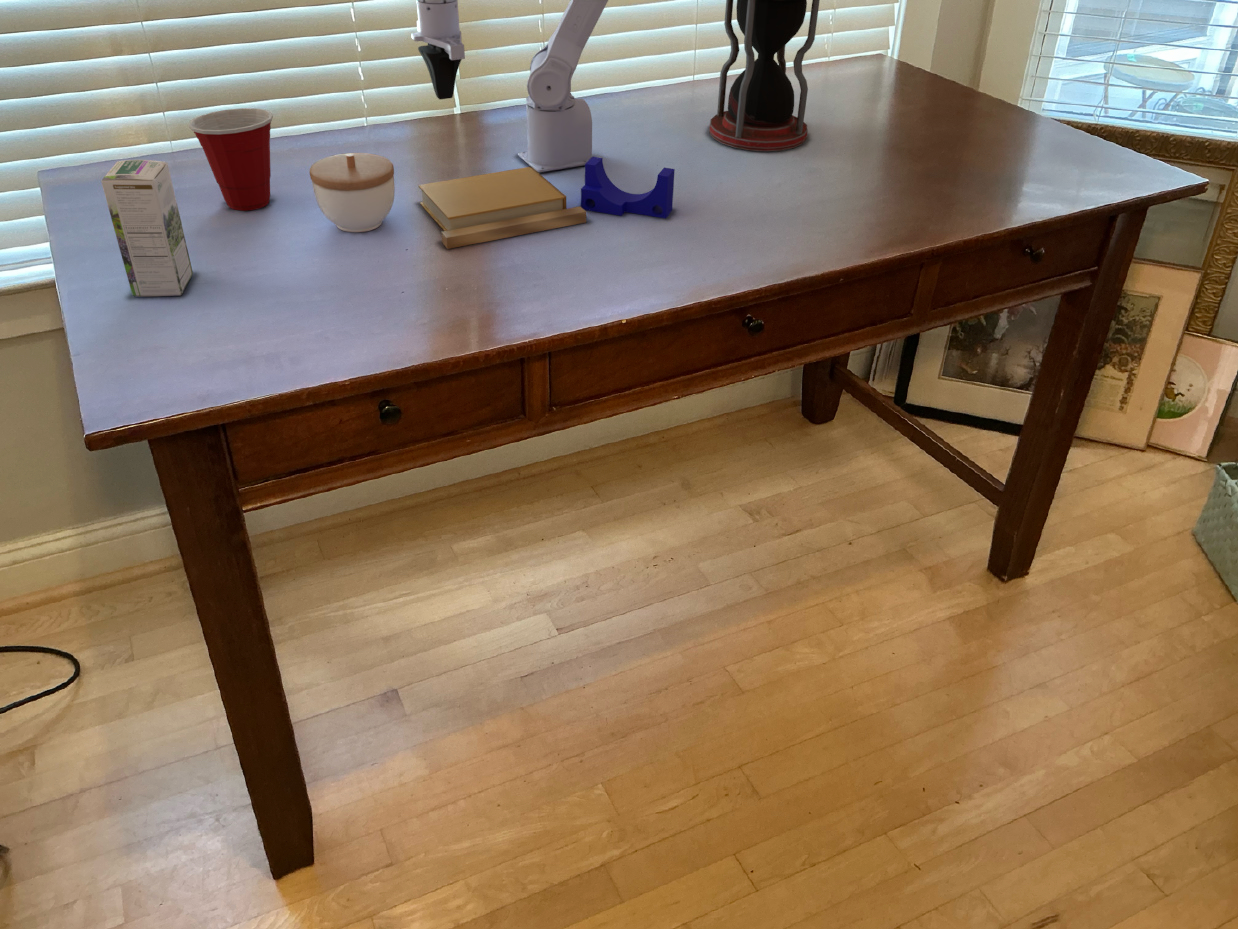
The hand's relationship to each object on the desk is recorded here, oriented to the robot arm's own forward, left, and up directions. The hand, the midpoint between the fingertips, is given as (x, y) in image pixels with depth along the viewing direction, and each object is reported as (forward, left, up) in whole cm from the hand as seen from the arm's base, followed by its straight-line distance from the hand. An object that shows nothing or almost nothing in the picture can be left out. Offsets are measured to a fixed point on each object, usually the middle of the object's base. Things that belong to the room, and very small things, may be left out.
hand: (444, 97), depth 152 cm
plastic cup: (+31, +4, -10) cm, 33 cm away
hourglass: (-50, +10, -10) cm, 52 cm away
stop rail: (+1, +29, -9) cm, 30 cm away
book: (+1, +20, -9) cm, 22 cm away
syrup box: (+45, +25, -10) cm, 52 cm away
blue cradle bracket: (-16, +28, -10) cm, 34 cm away
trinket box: (+19, +17, -10) cm, 27 cm away
